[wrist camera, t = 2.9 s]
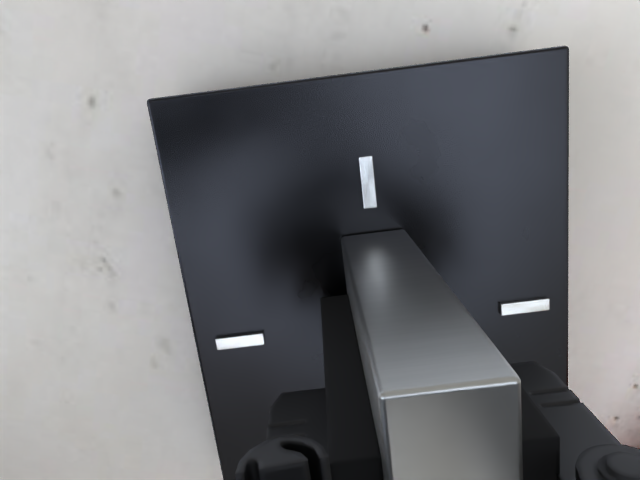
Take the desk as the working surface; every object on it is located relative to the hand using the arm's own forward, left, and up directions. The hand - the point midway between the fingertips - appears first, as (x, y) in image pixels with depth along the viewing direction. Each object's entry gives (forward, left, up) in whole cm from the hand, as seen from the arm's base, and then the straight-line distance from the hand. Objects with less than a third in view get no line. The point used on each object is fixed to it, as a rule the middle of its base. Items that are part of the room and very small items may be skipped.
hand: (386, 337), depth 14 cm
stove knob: (0, 0, -1) cm, 1 cm away
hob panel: (0, 0, -4) cm, 4 cm away
